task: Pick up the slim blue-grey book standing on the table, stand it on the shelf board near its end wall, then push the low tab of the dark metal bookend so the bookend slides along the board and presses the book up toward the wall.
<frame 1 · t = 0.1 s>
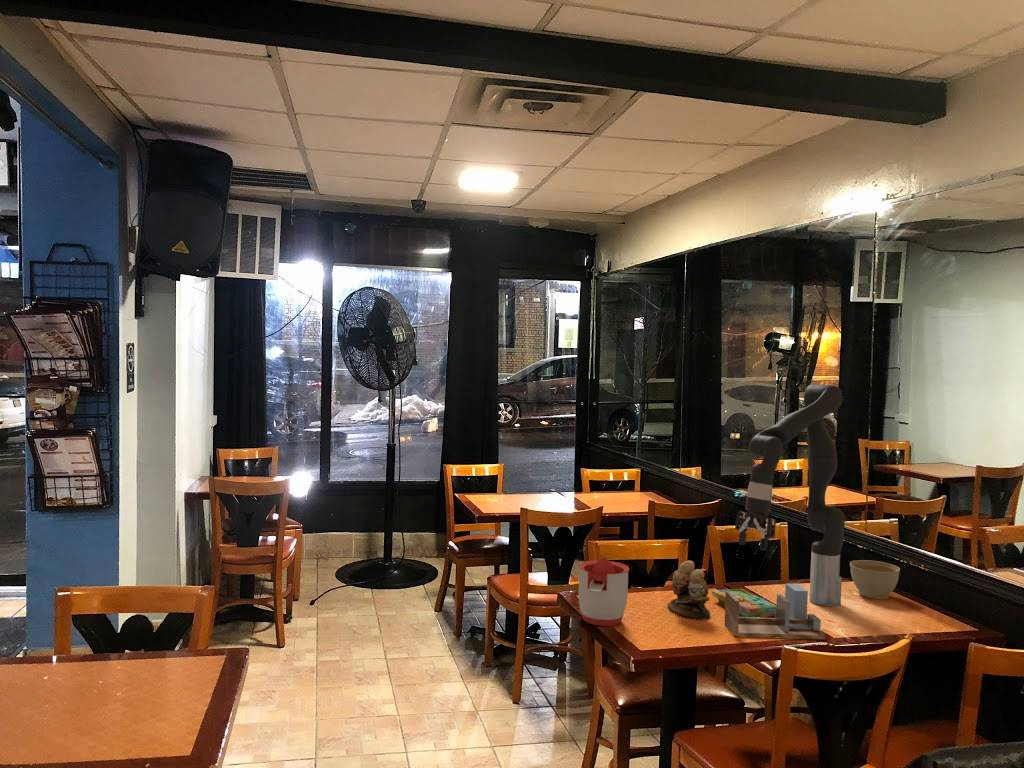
hand: (752, 547, 243), 22 cm above the table, tool pointing down, fingers open, 8 cm apart
shelf: (773, 632, 229), on the table
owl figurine: (689, 612, 246), on the table
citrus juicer: (601, 622, 233), on the table
puzzle game: (743, 610, 251), on the table
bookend: (799, 613, 229), point 6 cm above the table, slide at 0.0 cm
book: (795, 621, 239), on the table
planter bowl: (873, 596, 271), on the table
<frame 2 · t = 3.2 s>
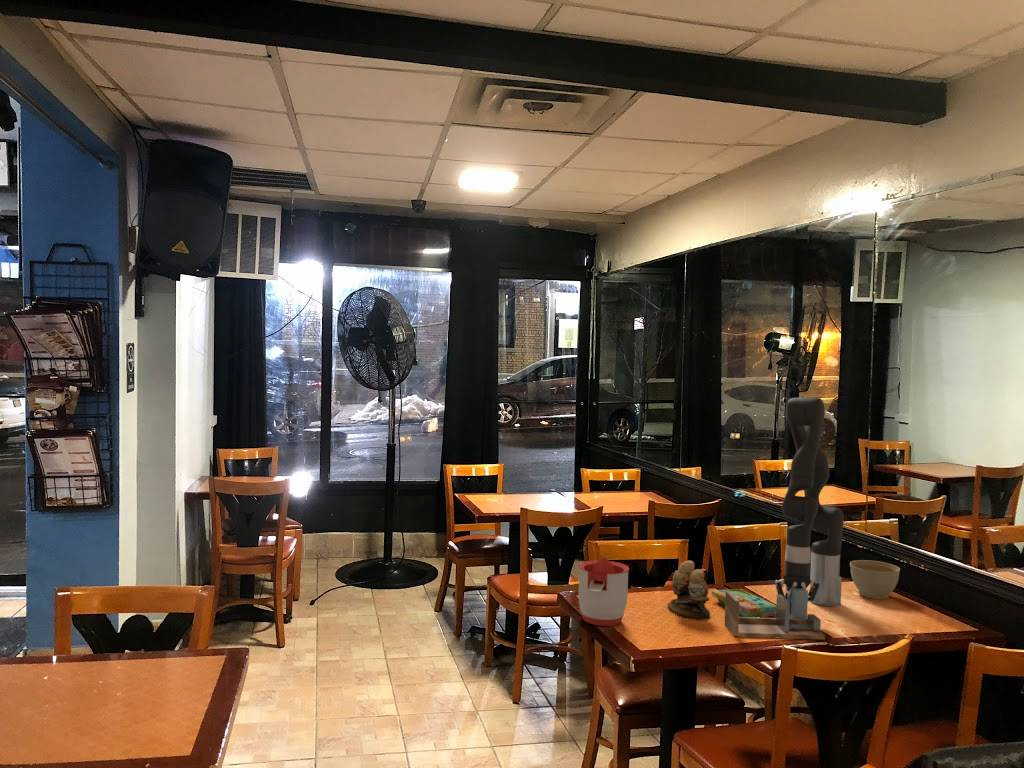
hand: (795, 612, 239), 3 cm above the table, tool pointing down, fingers closed on book, 4 cm apart
book: (795, 621, 239), on the table, touching gripper
everything else where it was.
when the fingers open (5 cm above the table, at t = 9.0 s): book stays where it is, resting on shelf.
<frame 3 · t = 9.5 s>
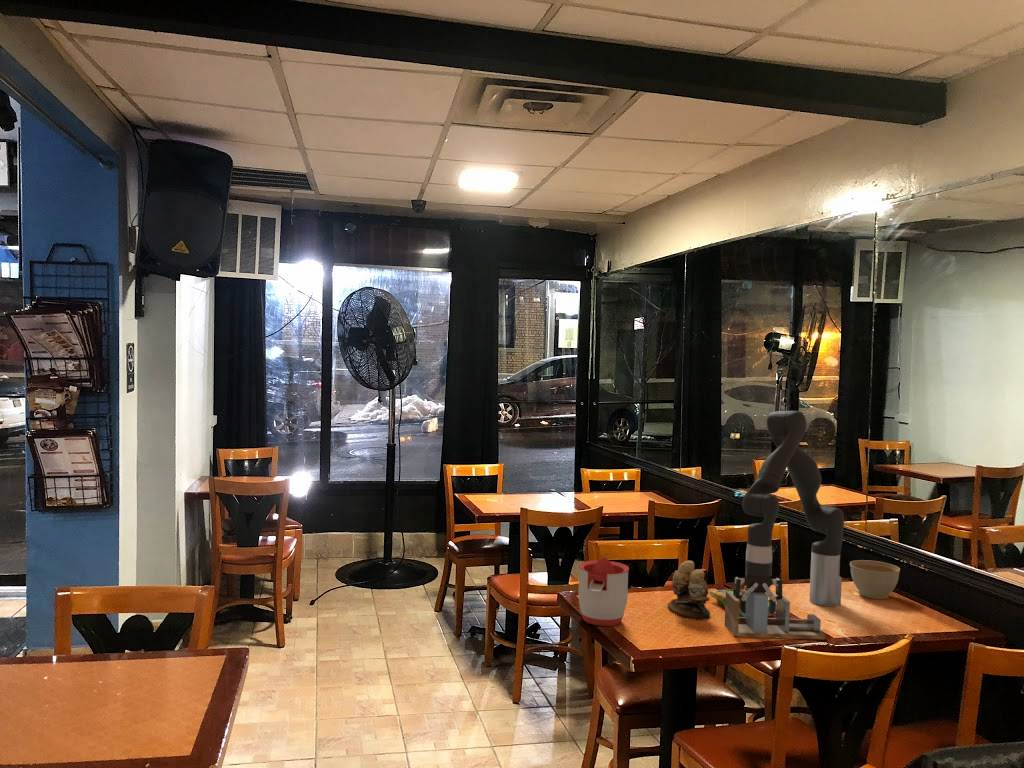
hand: (757, 612, 229), 6 cm above the table, tool pointing down, fingers open, 8 cm apart
book: (755, 627, 229), point 1 cm above the table, touching shelf
everything else where it was.
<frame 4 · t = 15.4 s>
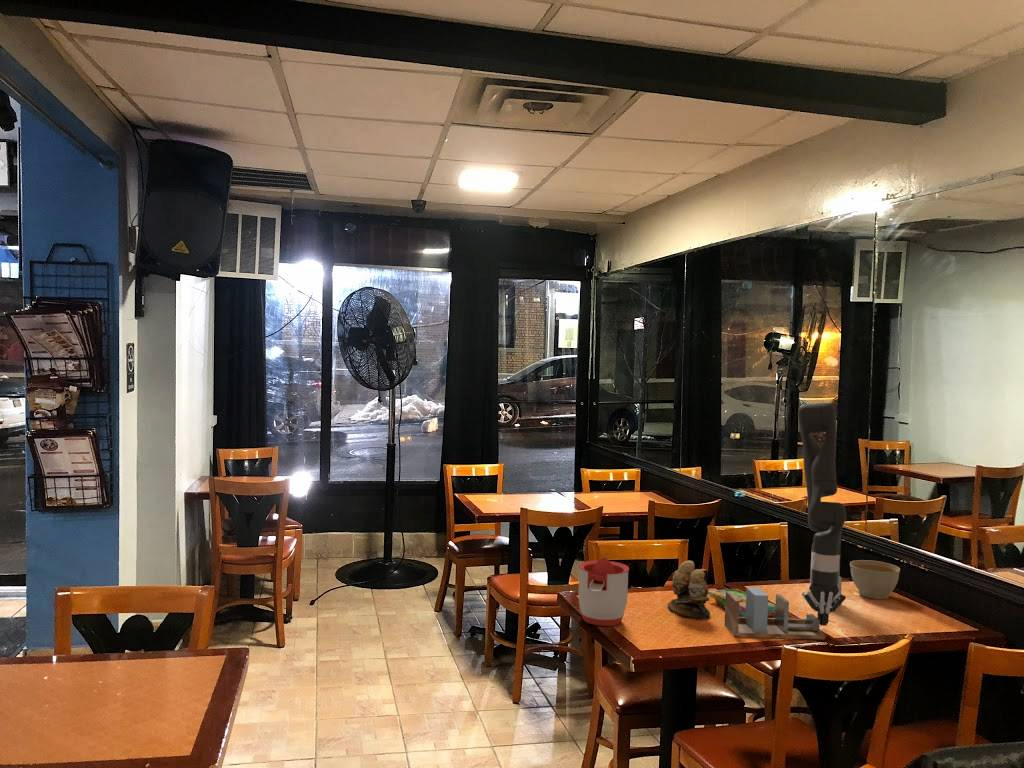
hand: (822, 624, 228), 3 cm above the table, tool pointing down, fingers closed
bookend: (798, 613, 229), point 6 cm above the table, slide at 0.3 cm, touching gripper
everything else where it was.
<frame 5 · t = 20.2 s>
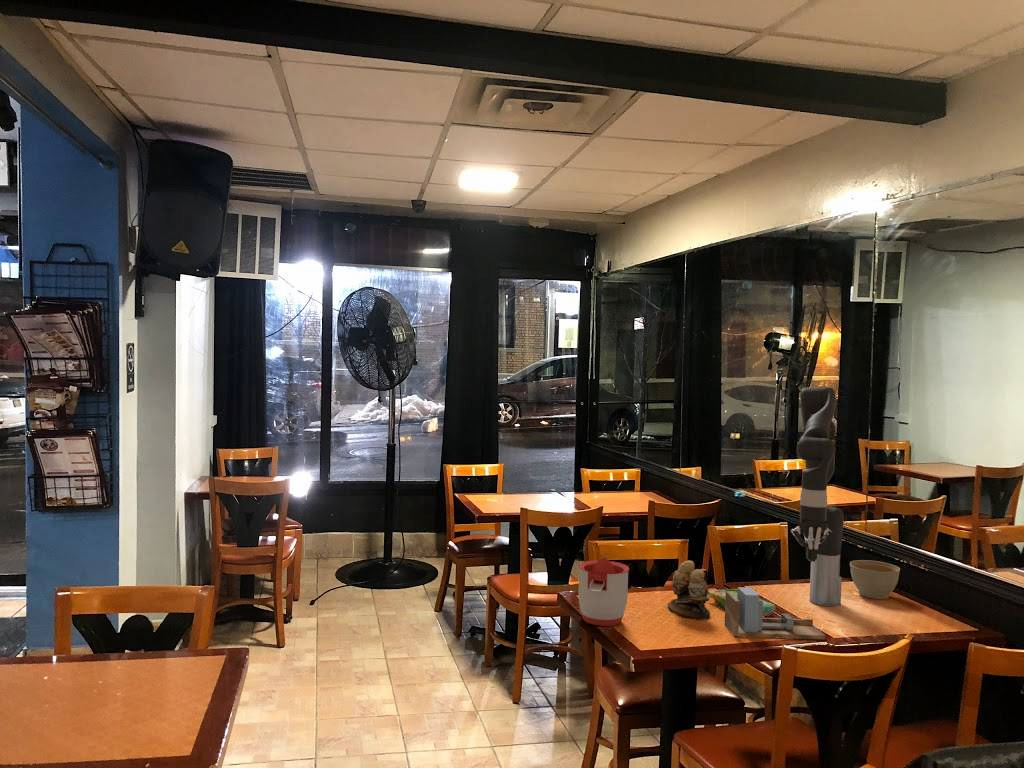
hand: (811, 560, 228), 22 cm above the table, tool pointing down, fingers closed
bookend: (772, 612, 229), point 6 cm above the table, slide at 8.1 cm, touching book
book: (746, 627, 229), point 1 cm above the table, touching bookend, shelf
at the end: book 1.0 cm from the target spot, point 1.2 cm above the table; book tilted 0°; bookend slide at 8.1 cm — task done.
